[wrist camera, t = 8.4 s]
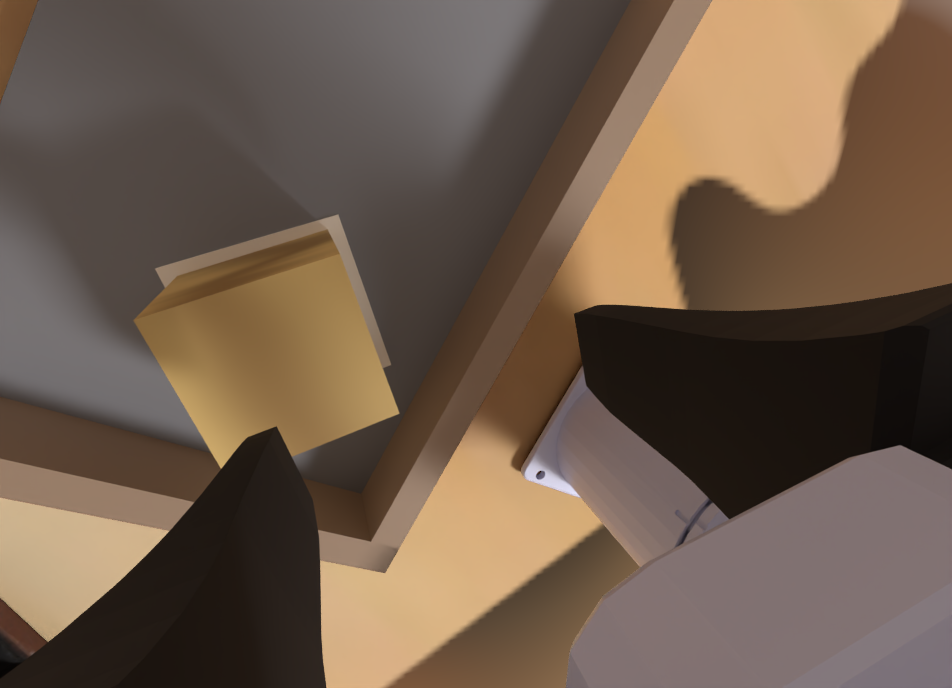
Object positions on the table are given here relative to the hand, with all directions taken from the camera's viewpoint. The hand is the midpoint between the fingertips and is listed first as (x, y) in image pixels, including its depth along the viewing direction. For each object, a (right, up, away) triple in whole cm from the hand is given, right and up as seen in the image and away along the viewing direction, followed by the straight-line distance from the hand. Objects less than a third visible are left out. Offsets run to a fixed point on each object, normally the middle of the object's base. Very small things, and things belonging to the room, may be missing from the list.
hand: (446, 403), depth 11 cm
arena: (-5, +7, +6) cm, 11 cm away
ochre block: (-6, +2, +6) cm, 9 cm away
